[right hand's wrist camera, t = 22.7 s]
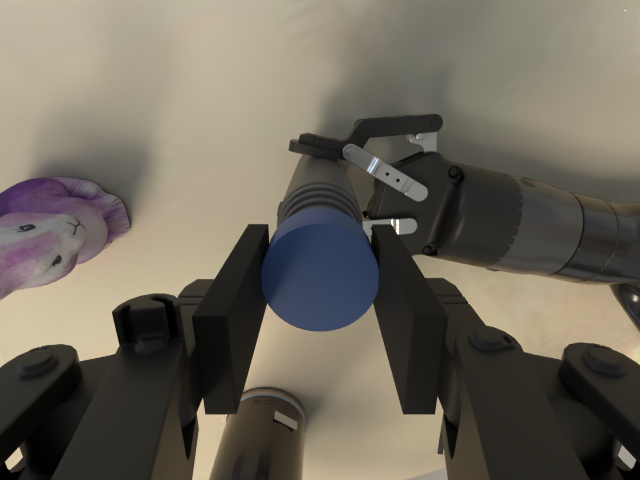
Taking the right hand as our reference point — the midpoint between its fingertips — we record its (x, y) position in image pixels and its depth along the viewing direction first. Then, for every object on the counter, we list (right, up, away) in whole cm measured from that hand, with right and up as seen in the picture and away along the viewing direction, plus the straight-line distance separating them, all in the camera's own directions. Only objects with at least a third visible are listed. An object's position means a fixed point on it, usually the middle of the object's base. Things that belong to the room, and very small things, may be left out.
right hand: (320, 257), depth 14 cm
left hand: (-3, +5, +13) cm, 15 cm away
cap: (0, -1, -2) cm, 2 cm away
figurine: (-23, +3, +20) cm, 31 cm away
